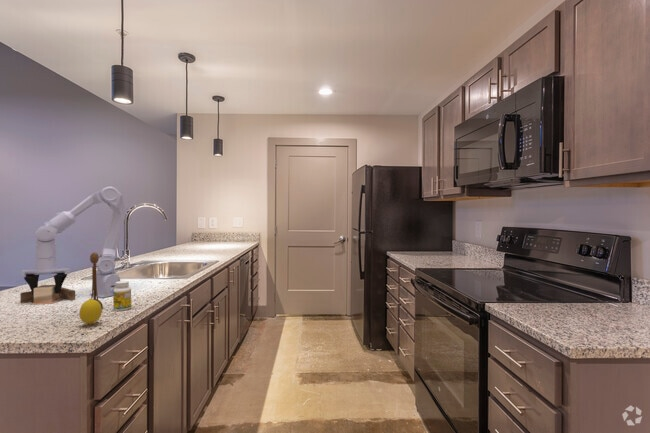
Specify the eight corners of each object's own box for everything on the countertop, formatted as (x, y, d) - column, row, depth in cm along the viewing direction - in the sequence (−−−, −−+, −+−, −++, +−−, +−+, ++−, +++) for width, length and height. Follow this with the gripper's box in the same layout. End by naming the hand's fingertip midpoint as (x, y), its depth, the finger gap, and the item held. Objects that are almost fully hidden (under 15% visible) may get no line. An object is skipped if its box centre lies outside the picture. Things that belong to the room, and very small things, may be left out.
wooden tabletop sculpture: (86, 308, 118) (85, 251, 117) (101, 306, 121) (101, 251, 120) (87, 312, 113) (86, 253, 113) (103, 310, 116) (103, 252, 115)
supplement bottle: (134, 307, 119) (134, 280, 119) (121, 312, 114) (121, 284, 114) (123, 306, 121) (123, 279, 120) (109, 310, 116) (109, 282, 115)
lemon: (86, 322, 104) (86, 296, 104) (105, 321, 104) (105, 296, 104) (75, 328, 98) (75, 301, 98) (94, 327, 99) (94, 301, 98)
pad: (62, 298, 130) (62, 297, 130) (52, 303, 123) (52, 302, 123) (40, 299, 128) (40, 299, 128) (30, 304, 121) (30, 304, 121)
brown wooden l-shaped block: (75, 299, 128) (75, 290, 128) (36, 307, 118) (36, 297, 118) (58, 295, 134) (58, 286, 134) (20, 302, 124) (20, 292, 124)
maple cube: (51, 302, 124) (51, 287, 124) (33, 303, 122) (33, 288, 122) (58, 298, 129) (58, 284, 129) (41, 299, 127) (41, 285, 127)
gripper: (73, 255, 131) (73, 289, 131) (29, 256, 127) (29, 292, 127) (65, 258, 124) (65, 294, 125) (17, 259, 120) (18, 296, 121)
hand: (46, 293), depth 126 cm, fingers open, 7 cm apart
